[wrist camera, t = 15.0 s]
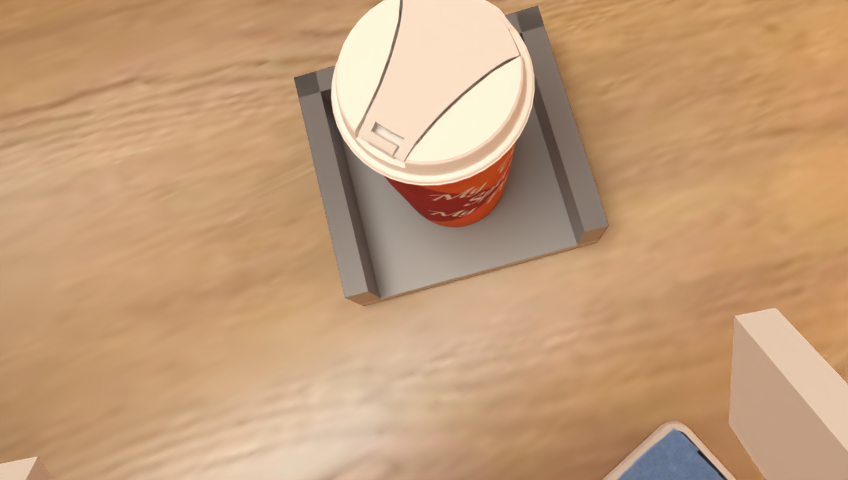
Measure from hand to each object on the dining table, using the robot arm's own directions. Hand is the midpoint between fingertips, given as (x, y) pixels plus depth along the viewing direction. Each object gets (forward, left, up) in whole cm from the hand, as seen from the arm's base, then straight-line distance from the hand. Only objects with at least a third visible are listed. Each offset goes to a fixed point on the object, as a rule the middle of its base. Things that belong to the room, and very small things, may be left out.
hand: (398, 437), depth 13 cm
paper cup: (-8, +8, -24) cm, 26 cm away
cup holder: (-8, +8, -24) cm, 27 cm away
